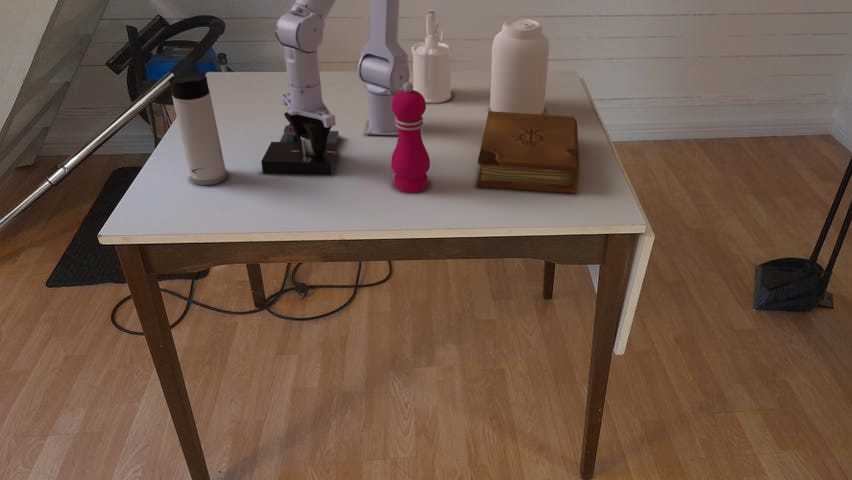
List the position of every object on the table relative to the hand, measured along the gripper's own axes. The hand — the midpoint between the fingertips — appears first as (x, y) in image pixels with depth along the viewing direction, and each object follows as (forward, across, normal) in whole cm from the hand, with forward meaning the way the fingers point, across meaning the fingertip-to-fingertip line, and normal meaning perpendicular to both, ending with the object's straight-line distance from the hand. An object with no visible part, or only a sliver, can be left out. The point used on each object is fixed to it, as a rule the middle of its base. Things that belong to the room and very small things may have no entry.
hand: (312, 149), depth 137 cm
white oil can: (+3, -10, +40) cm, 42 cm away
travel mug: (+3, -8, -18) cm, 20 cm away
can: (+3, +9, +50) cm, 50 cm away
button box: (+3, -8, +4) cm, 10 cm away
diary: (+3, +28, +32) cm, 43 cm away
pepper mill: (+3, +19, +8) cm, 21 cm away
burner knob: (0, 0, 0) cm, 0 cm away
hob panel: (+3, -2, -2) cm, 4 cm away
